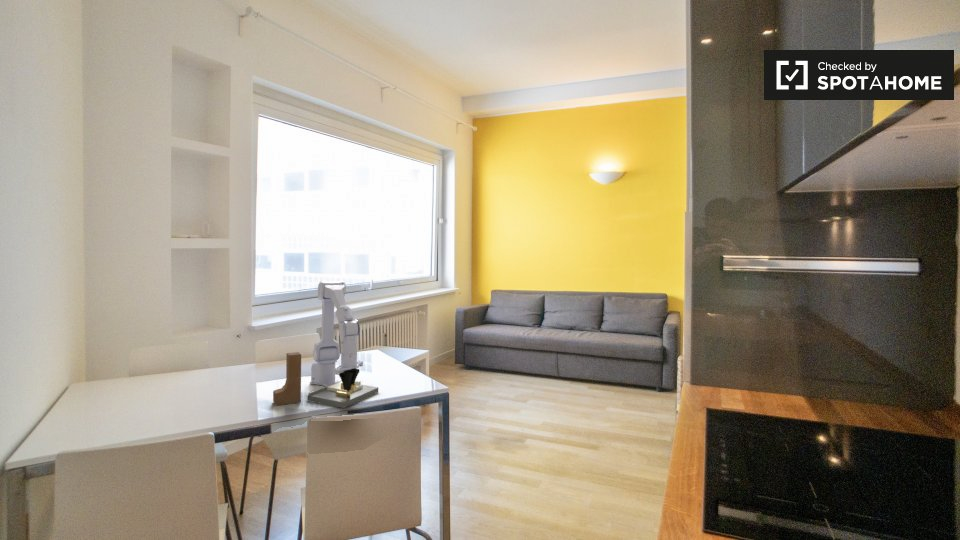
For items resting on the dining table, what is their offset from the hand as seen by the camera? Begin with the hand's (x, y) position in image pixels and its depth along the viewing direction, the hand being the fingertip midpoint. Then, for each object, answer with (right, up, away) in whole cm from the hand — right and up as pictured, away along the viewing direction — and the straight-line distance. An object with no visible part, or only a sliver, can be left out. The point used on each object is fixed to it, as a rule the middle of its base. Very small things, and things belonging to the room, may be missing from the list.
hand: (348, 389), depth 186 cm
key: (-1, -3, +1) cm, 3 cm away
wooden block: (-22, -5, -2) cm, 23 cm away
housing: (-4, -4, +7) cm, 9 cm away
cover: (-4, -2, +10) cm, 11 cm away
